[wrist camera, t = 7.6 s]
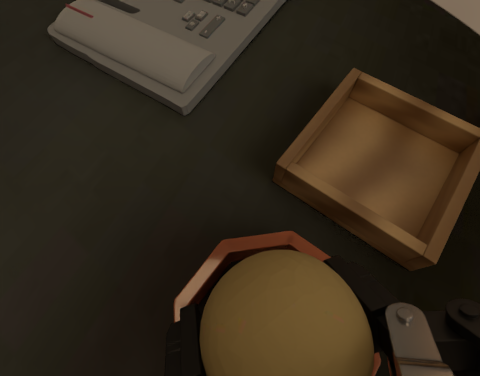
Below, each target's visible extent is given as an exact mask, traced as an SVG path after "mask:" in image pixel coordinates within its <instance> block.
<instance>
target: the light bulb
mask: <svg viewBox="0 0 480 376" xmlns="http://www.w3.org/2000/svg"><path fill="white" fill-rule="evenodd" d="M199 341H200V350H201V358H202V363H203V366H204V370H205V373H206V376H371V375H372V371H373V367H374V344H373V338H372V333H371V329H370V326H369V323H368V320H367V317H366V314H365V312H364V310H363V308H362V306H361V304H360V302H359V301H358V299H357V297H356V296H355V294H354V293H353V291H352V290H351V288H350V287H349V286H348V285H347V284H346V282H345V281H344V280H343V279H342V278H341V277H340V276H339V275H338V274H337V273H336V272H335V271H334V270H332V269H331V268H330V267H329V266H328V265H326V264H325V263H323V262H322V261H320V260H318V259H316V258H315V257H312V256H310V255H308V254H305V253H302V252H298V251H293V250H270V251H264V252H260V253H257V254H255V255H253V256H250V257H248V258H245V259H244V260H242V261H241V262H239V263H238V264H236V265H235V266H233V267H232V268H231V269H230V270H229V271H228V272H227V273H226V274H225V275H224V276H223V277H222V278H221V279H220V280H219V282H218V283H217V285H216V286H215V287H214V289H213V290H212V292H211V294H210V296H209V298H208V301H207V303H206V305H205V307H204V311H203V315H202V319H201V326H200V340H199Z"/></svg>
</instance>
